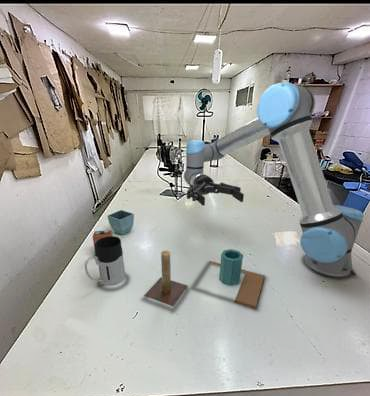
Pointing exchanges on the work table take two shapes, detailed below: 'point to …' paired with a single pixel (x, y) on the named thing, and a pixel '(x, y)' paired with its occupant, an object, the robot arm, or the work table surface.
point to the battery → (100, 236)
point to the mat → (248, 288)
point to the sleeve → (230, 267)
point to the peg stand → (166, 284)
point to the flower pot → (121, 221)
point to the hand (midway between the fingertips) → (223, 199)
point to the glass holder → (109, 261)
